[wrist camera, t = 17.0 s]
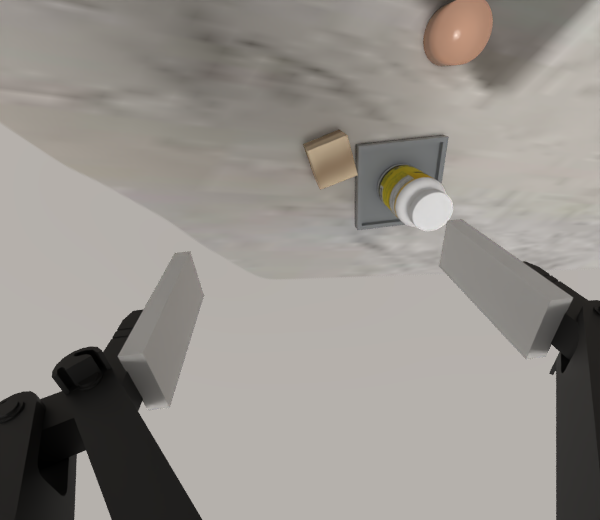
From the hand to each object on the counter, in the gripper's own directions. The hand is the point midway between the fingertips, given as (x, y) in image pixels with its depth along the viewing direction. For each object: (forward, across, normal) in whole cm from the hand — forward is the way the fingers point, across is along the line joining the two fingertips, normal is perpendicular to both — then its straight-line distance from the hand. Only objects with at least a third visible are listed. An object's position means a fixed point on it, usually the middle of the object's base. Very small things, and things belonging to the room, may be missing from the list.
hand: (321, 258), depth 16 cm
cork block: (+29, +5, -1) cm, 29 cm away
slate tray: (+29, +15, -6) cm, 33 cm away
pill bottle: (+28, +15, -6) cm, 33 cm away
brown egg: (+29, +20, +11) cm, 37 cm away
